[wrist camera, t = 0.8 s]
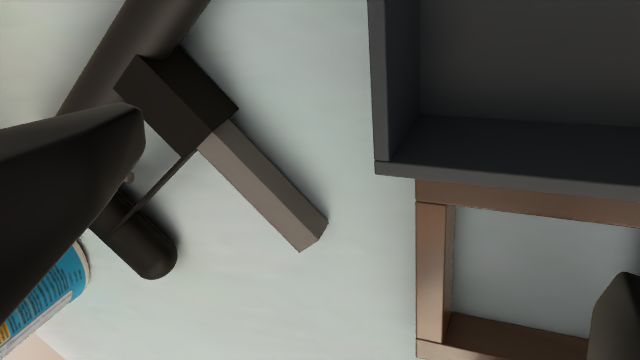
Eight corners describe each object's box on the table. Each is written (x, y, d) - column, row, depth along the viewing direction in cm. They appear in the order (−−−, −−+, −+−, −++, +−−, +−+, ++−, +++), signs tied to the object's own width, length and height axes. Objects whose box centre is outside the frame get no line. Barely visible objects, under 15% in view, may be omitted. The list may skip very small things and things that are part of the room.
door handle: (396, 196, 23) (132, -89, 21) (180, 334, 35) (-5, 163, 32) (411, 161, 26) (179, -96, 23) (206, 300, 38) (36, 140, 35)
